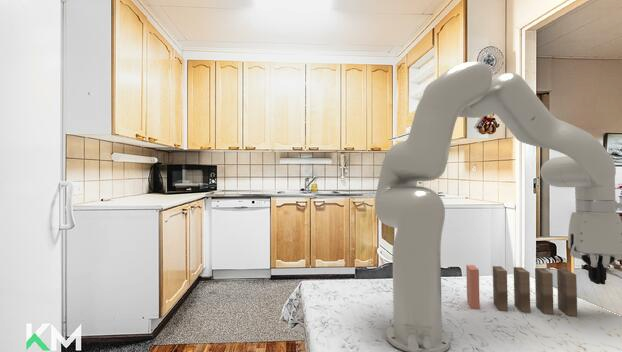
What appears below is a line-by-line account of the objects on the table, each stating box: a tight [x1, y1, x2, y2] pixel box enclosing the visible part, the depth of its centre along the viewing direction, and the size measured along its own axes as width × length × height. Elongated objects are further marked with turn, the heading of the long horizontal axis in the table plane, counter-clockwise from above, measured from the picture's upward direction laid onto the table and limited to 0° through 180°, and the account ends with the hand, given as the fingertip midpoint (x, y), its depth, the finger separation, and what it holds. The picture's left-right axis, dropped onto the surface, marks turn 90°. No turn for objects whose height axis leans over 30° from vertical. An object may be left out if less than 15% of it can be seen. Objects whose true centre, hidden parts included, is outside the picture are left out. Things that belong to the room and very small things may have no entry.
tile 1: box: [556, 268, 578, 317], centre depth 83 cm, size 5×2×10 cm, turn 166°
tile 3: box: [513, 266, 531, 314], centre depth 85 cm, size 5×2×10 cm, turn 166°
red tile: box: [465, 264, 481, 310], centre depth 88 cm, size 5×2×10 cm, turn 166°
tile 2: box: [534, 267, 554, 316], centre depth 84 cm, size 5×2×10 cm, turn 166°
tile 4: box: [492, 265, 509, 312], centre depth 87 cm, size 5×2×10 cm, turn 166°
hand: (597, 282), depth 81 cm, fingers closed
